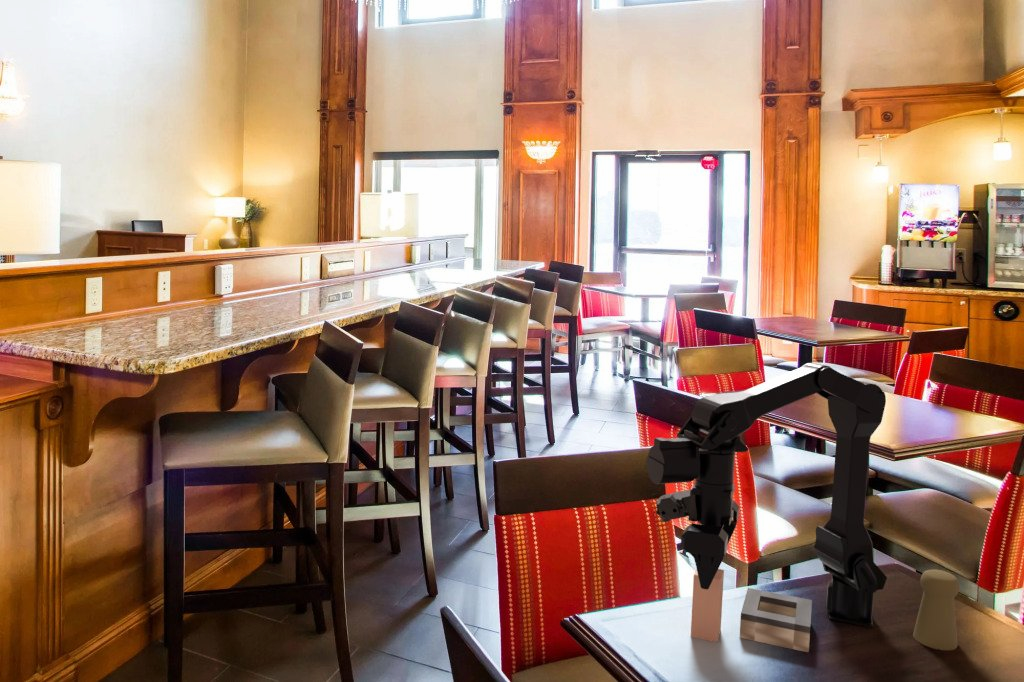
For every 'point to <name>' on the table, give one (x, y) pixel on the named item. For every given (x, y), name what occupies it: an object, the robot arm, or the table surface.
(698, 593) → the square peg
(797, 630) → the socket block
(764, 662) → the table surface
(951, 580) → the beige pepper mill
